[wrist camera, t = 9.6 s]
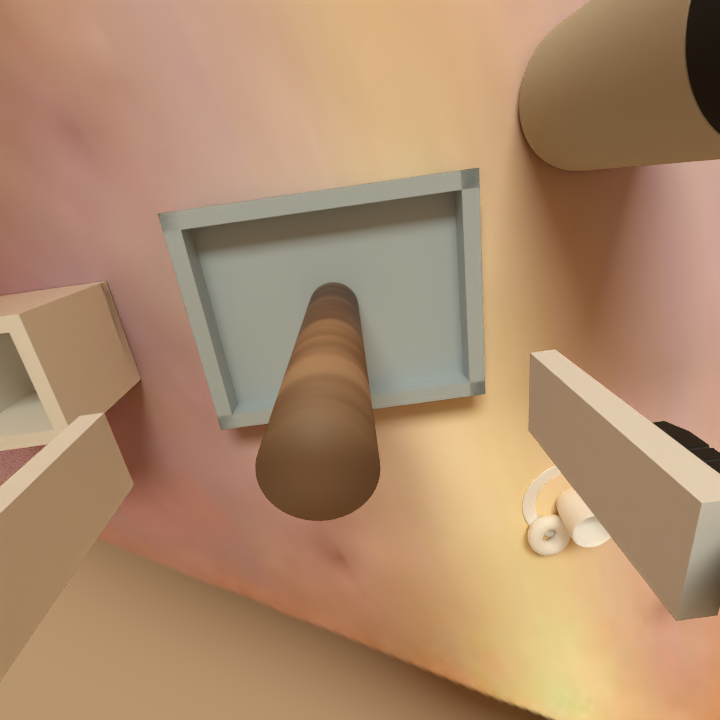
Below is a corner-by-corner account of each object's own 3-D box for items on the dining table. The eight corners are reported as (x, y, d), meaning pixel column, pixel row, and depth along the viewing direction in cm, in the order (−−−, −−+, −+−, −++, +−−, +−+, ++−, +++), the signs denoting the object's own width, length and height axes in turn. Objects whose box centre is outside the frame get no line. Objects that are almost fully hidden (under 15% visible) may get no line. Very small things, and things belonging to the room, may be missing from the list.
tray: (174, 211, 26) (157, 213, 24) (466, 169, 26) (479, 167, 24) (230, 412, 31) (221, 429, 29) (474, 378, 31) (485, 393, 29)
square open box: (-1, 295, 28) (-127, 334, 20) (106, 280, 28) (18, 314, 20) (43, 392, 30) (-55, 458, 23) (141, 379, 30) (74, 440, 23)
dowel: (305, 285, 27) (242, 424, 10) (354, 278, 27) (372, 407, 10) (313, 333, 28) (269, 527, 12) (361, 326, 28) (386, 512, 12)
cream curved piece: (535, 551, 38) (556, 591, 34) (495, 491, 35) (513, 527, 32) (628, 505, 36) (661, 542, 33) (593, 439, 34) (625, 471, 30)
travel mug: (495, 149, 26) (785, 68, 9) (552, -11, 23) (1129, -568, 6) (613, 187, 27) (1071, 182, 10) (680, 40, 24) (1475, -316, 7)
